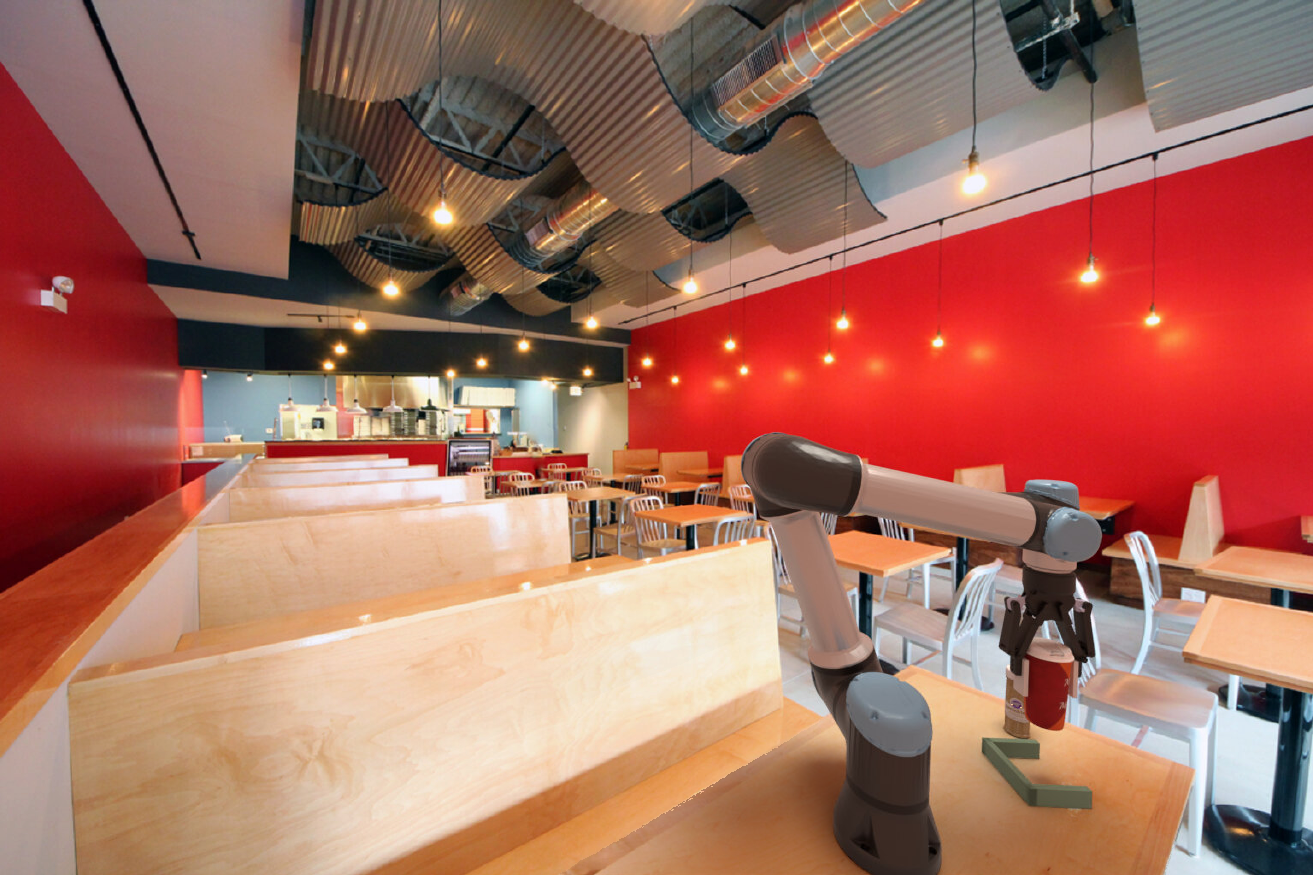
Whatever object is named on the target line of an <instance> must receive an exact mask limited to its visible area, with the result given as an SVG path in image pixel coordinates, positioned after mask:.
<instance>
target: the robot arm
mask: <svg viewBox="0 0 1313 875" xmlns="http://www.w3.org/2000/svg"><path fill="white" fill-rule="evenodd" d="M740 472H741V475H742V478H743V481H744V482H745V484H746V485H747V486H748V487H749V489H750V492H751V495H752V497H753V500H754V503H755V506H756V509H757V511H758V514H759V517H760V518H761V519H763V520H765V521H767V522H769V523H770V524H771V526H772V529H773V532H774V535H775V538H776V541H777V544H778V547H779V551H780V554H781V555H782V559H783V562H784V564H785V567H786V570H787V573H788V574H787V575H789V579H790V583H791V586H792V588H793V591H794V594H795V596H796V600H797V603H798V605H799V608H800V612H801V615H802V617H803V618H802V619H803V620H804V624H805V625H806V629H807V632H808V635H809V638H810V641H811V644H810V645H809V647H808V650H807V657H808V661H809V663H810V664H809V665H810V673H811V679H812V683H813V686H814V689H815V692H817V694H818V696H819V698H820V699H821V700H822V701H823V703H824V704H825V706H826V708H827V710H828V712H829V713H830V715H831V717H832V718H833V721H834V722H835V723H836V725H837V727H838V729H839V730H840V733H841V734H842V736H843V738H844V741H845V745H846V755H845V756H846V757H845V773H846V774H845V779H844V782H843V784H842V786H841V788H840V792H839V794H838V795H837V796H838V797H837V799H836V801H835V804H834V807H833V812H832V813H833V816H832V817H833V820H832V823H833V824H832V828H833V833H834V837H835V839H836V841H837V843H838V845H839V846H840V848H841V849H842V850H843V851H844V853H845V854H846V855H847V856H848V857H849V859H851V860H852V861H853V862H854V863H855V864H857V865H858V866H859V867H860V868H862V869H863V870H865V871H866V872H868V873H869V874H872V875H937V874H938V873H939V872H940V869H941V866H942V841H941V840H942V839H941V837H940V833H939V830H938V828H937V827H938V826H937V824H936V820H935V818H934V817H935V816H934V814H933V811H932V808H931V805H930V786H931V785H930V784H931V782H930V781H931V759H932V758H931V754H932V752H931V751H932V749H931V748H932V740H933V733H934V732H933V723H932V716H931V709H930V706H929V704H928V702H927V701H926V699H925V697H924V695H922V693H921V692H920V691H919V690H918V689H917V688H916V687H915V686H913V685H911V683H909V682H907V681H905V680H903V681H901V680H900V679H899V677H897V676H894V675H892V674H888V673H885V672H884V671H883V668H882V666H881V663H880V660H879V658H878V655H877V651H876V649H875V646H874V642H873V641H872V639H871V637H869V636H868V635H867V634H865V633H863V632H861V631H860V628H859V626H858V622H857V620H856V618H855V614H854V612H853V608H852V606H851V602H850V600H849V596H848V593H847V590H846V587H845V584H844V582H843V578H842V576H841V573H840V569H839V566H838V564H837V561H836V558H835V554H834V553H833V549H832V546H831V543H830V541H829V536H828V534H827V531H826V528H825V526H824V522H823V520H822V516H821V513H823V514H828V515H834V516H838V517H843V518H844V517H848V516H850V515H851V514H853V513H855V514H862V515H866V516H870V517H875V518H879V519H883V520H890V521H893V522H899V523H903V524H908V525H913V526H915V527H916V526H917V527H922V528H925V529H931V530H935V531H936V530H937V531H940V532H944V533H949V534H955V535H960V536H964V537H967V538H968V537H969V538H973V539H977V540H978V539H979V540H982V541H985V542H986V541H987V542H992V543H996V544H1001V545H1005V546H1011V547H1014V548H1016V549H1017V548H1018V549H1021V550H1022V563H1024V565H1023V566H1022V569H1021V570H1022V572H1021V574H1022V575H1021V576H1022V578H1021V583H1022V587H1023V590H1022V593H1021V594H1020V596H1018V597H1013V598H1012V597H1010V596H1005V597H1004V599H1003V600H1004V601H1003V602H1004V608H1005V611H1004V617H1003V619H1002V620H1003V621H1002V627H1001V630H1000V636H999V642H998V649H999V650H1001V651H1003V652H1004V653H1005V654H1007V655H1008V657H1009V663H1010V664H1009V665H1010V671H1011V672H1012V673H1013V674H1014V685H1013V688H1014V689H1015V690H1016V691H1017V692H1019V693H1020V694H1021V695H1022V696H1025V697H1028V677H1029V660H1027V659H1026V658H1025V655H1026V653H1027V651H1028V648H1029V646H1030V644H1031V642H1032V640H1033V638H1034V637H1036V634H1037V631H1038V629H1039V627H1042V626H1043V625H1044V623H1045V622H1049V621H1053V622H1054V624H1055V625H1056V628H1057V630H1058V632H1059V633H1058V634H1059V636H1060V638H1061V641H1062V642H1063V643H1062V644H1064V645H1066V646H1067V647H1069V648H1070V649H1071V652H1072V655H1073V656H1074V661H1072V664H1071V673H1070V682H1069V691H1068V697H1071V698H1072V699H1078V691H1079V690H1078V688H1079V687H1078V684H1079V678H1082V675H1083V664H1087V663H1088V662H1089V658H1092V659H1093V658H1095V657H1096V648H1095V647H1096V646H1095V638H1094V632H1093V631H1094V630H1093V625H1092V619H1091V618H1092V617H1091V616H1092V613H1093V607H1094V605H1093V604H1092V602H1090V601H1087V600H1085V599H1082V598H1081V597H1077V598H1075V597H1074V594H1075V593H1076V592H1077V574H1076V573H1075V570H1076V569H1077V563H1079V562H1083V561H1087V560H1089V559H1090V558H1091V557H1094V555H1095V554H1096V553H1097V551H1098V550H1099V548H1100V546H1101V543H1102V538H1103V534H1102V528H1101V526H1100V524H1099V522H1098V521H1097V520H1096V519H1095V517H1093V516H1092V515H1091V514H1089V513H1087V512H1084V511H1080V510H1081V506H1080V495H1079V494H1080V493H1079V488H1078V486H1077V485H1076V484H1074V483H1072V482H1069V481H1063V480H1053V479H1029V480H1027V481H1026V482H1025V484H1024V489H1023V491H1017V492H1013V491H1012V492H1007V491H1005V492H1004V491H1003V492H1002V491H992V490H987V489H983V488H979V487H973V486H969V485H965V484H962V483H961V484H960V483H956V482H951V481H947V480H942V479H939V478H932V477H929V476H923V475H919V474H915V473H910V472H905V471H901V470H897V469H891V468H887V467H882V466H878V465H873V464H870V463H865V462H863V459H862V458H861V456H859V455H858V454H854V453H850V452H845V451H841V450H839V449H835V448H833V447H829V446H826V445H823V444H821V443H819V442H816V441H813V440H811V439H808V438H805V437H803V436H799V435H794V434H787V433H784V432H779V431H777V432H776V431H775V432H774V431H773V432H770V433H765V434H763V435H760V436H758V437H756V438H754V439H752V441H750V443H749V444H748V445H746V448H745V449H744V451H743V453H742V456H741V459H740ZM1023 607H1025V609H1024V608H1023ZM1071 610H1072V615H1073V620H1072V618H1071V616H1070V613H1069V612H1071ZM1021 619H1022V620H1021ZM1073 621H1074V623H1073ZM1073 625H1074V626H1073Z"/></svg>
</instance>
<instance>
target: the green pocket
mask: <svg viewBox="0 0 1313 875" xmlns="http://www.w3.org/2000/svg"><path fill="white" fill-rule="evenodd" d="M981 741H982V742H981V753H982V754H983V755H984V757H985V758H986V759H987V760H988V762H990V763H991V764H992V765H993V767H994V768H995V769H996V771H998V773H999V774H1000V775H1001V776H1002V778H1004V779H1005V781H1007V782H1008V784H1009V785H1010V786H1011V787H1012V788H1013V790H1014V791H1015V792H1017V794H1018V795H1019V797H1021V799H1022V800H1023V801H1024V802H1025V803H1026V804H1027V805H1028V806H1029V807H1041V808H1042V807H1043V808H1060V809H1061V808H1063V809H1064V808H1065V809H1083V810H1084V809H1085V810H1092V809H1093V806H1092V805H1093V791H1092V789H1091V788H1089V787H1088V786H1087V785H1071V784H1069V785H1068V784H1063V785H1062V784H1048V783H1047V784H1046V783H1043V784H1041V783H1032V782H1031V781H1030V780H1029V778H1028V777H1027V776H1026V775H1025V774H1024V773H1023V772H1022V771H1021V770H1020V769H1019V768H1018V767H1017V766H1016V765H1015V764H1014V762H1013V761H1011V760H1010V758H1013V759H1033V760H1034V759H1035V760H1036V759H1037V760H1039V759H1040V757H1041V755H1040V754H1041V743H1040V742H1039V741H1038V740H1037V739H1034V738H1033V739H1032V738H1030V739H1029V738H1007V737H984V736H983V737H981Z"/></svg>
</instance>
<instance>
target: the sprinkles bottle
mask: <svg viewBox="0 0 1313 875" xmlns="http://www.w3.org/2000/svg"><path fill="white" fill-rule="evenodd" d="M1005 677H1006V680H1005V696H1004V697H1005V699H1004V724H1003V729H1004V730H1005V731H1006V732H1007V733H1008V734H1010V735H1012V736H1014V737H1017V738H1018V739H1029V738H1030V736H1031V732H1030V731H1031V722H1029V721H1028V720H1027V719H1026V717H1025V711H1024V696H1022V695H1021V694H1020V693H1019V692H1017V691H1016V690H1015V689H1014V688H1013V685H1014V674H1013V673H1012V672H1011V671H1010V664H1007V665H1006V667H1005ZM1011 704H1013V705H1011ZM1020 707H1022V708H1020Z"/></svg>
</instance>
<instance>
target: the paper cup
mask: <svg viewBox="0 0 1313 875" xmlns="http://www.w3.org/2000/svg"><path fill="white" fill-rule="evenodd" d="M1025 658H1026V659H1027V660H1029V677H1028V697H1025V696H1024V711H1025V717H1026V719H1027V720H1028V721H1029V722H1030V724H1032V725H1034V726H1036V727H1038V728H1040V729H1043V730H1047V731H1053V732H1054V731H1055V732H1057V731H1058V732H1060V731H1063V729H1065V728H1064V727H1065V724H1066V723H1065V722H1066V715H1067V707H1068V699H1069V695H1068V691H1069V682H1070V673H1071V664H1072V661H1074V656H1073V655H1072V652H1071V649H1070V648H1069V647H1067V646H1066V645H1064V643H1062V642H1060V641H1057V640H1054V639H1049V638H1045V637H1037V636H1034V638H1033V640H1032V642H1031V644H1030V646H1029V648H1028V651H1027V653H1026V655H1025Z"/></svg>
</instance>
